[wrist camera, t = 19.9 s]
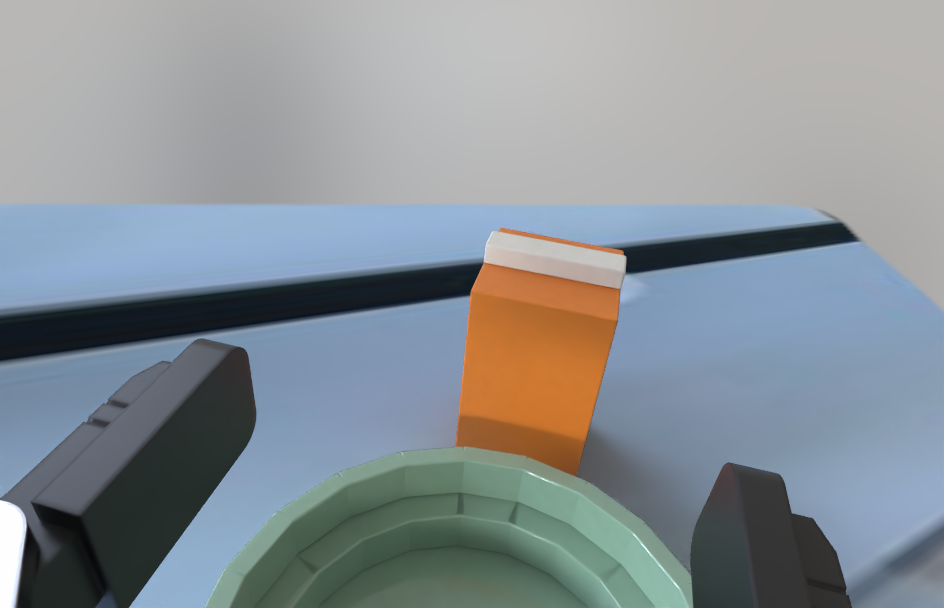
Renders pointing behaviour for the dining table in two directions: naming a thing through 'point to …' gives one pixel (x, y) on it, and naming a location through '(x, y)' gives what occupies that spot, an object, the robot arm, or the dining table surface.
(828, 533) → the dining table surface
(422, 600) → the bowl
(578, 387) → the carton
